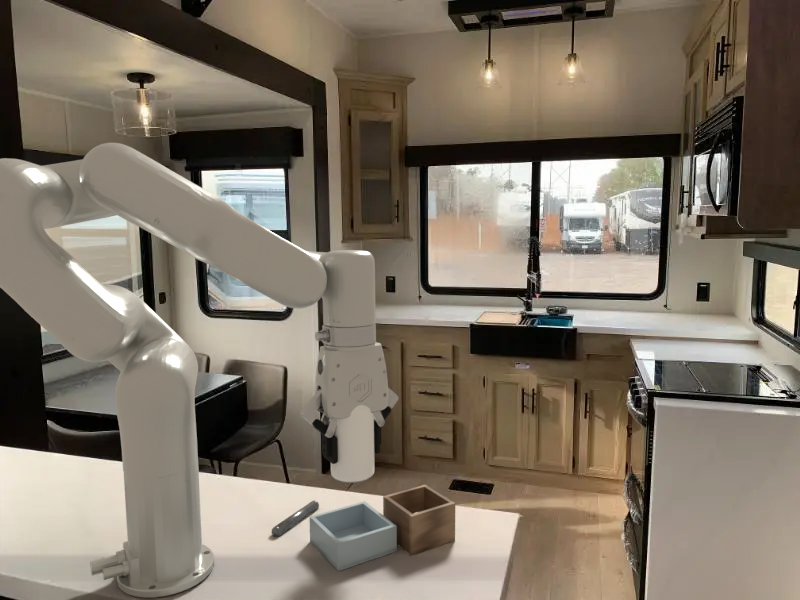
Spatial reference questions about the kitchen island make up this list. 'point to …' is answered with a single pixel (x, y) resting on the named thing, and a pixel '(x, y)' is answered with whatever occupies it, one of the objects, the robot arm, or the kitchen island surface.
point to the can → (355, 447)
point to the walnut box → (420, 518)
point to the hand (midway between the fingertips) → (352, 454)
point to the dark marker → (294, 518)
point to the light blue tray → (352, 535)
